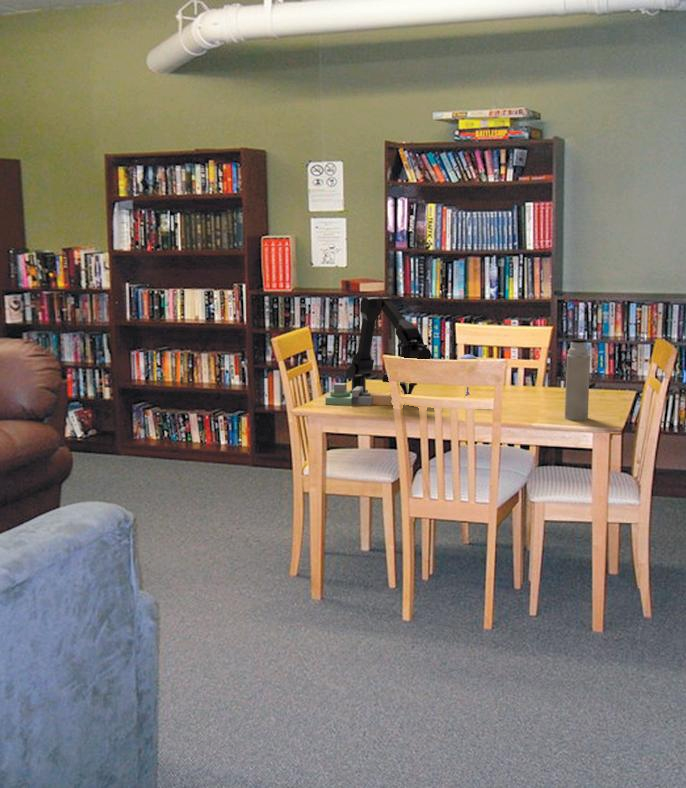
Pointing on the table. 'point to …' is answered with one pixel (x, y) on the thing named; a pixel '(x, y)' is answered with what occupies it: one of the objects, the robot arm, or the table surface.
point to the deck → (348, 396)
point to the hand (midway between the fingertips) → (407, 400)
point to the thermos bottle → (577, 381)
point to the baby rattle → (468, 356)
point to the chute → (381, 398)
